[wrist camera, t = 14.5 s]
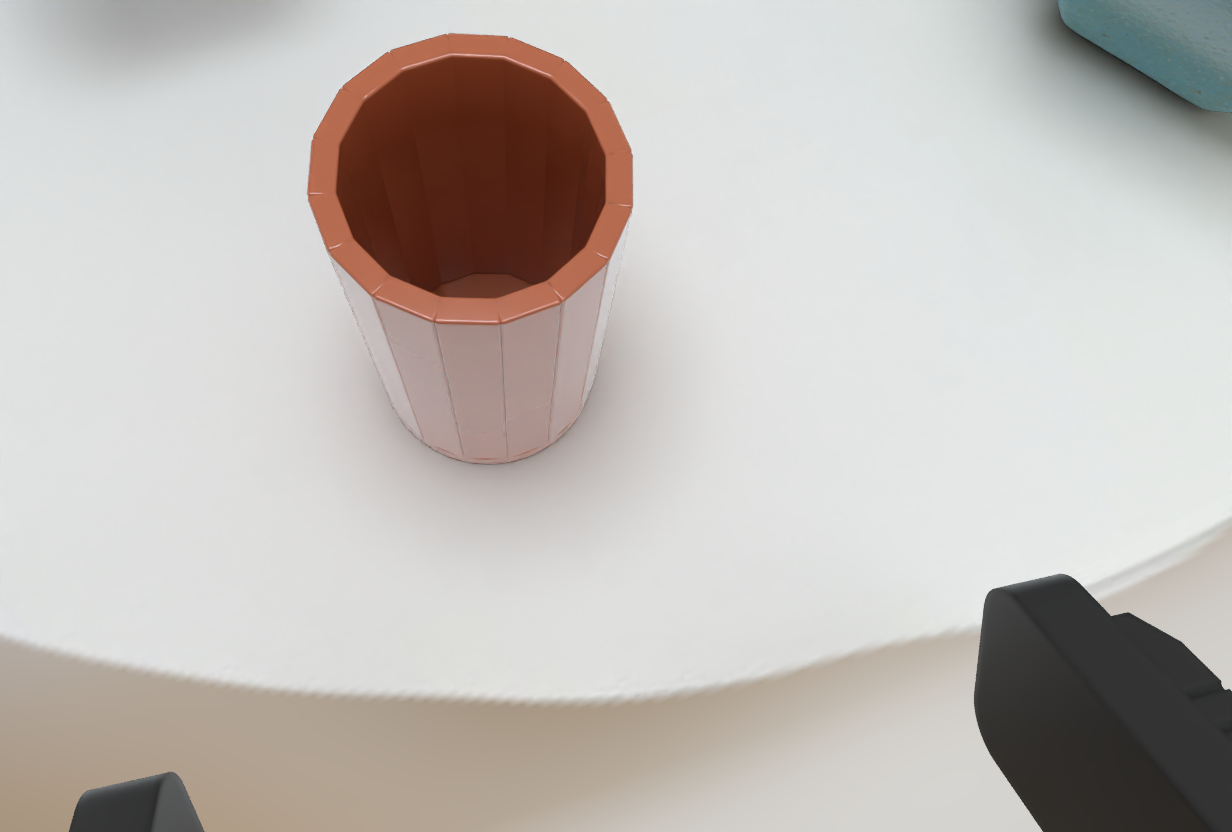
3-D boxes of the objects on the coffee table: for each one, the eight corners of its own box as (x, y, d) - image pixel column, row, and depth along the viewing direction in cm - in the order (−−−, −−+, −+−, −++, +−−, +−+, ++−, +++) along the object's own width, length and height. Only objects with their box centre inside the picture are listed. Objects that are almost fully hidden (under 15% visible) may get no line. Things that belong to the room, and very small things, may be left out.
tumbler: (426, 496, 25) (371, 370, 16) (355, 306, 26) (264, 85, 17) (625, 420, 26) (683, 260, 17) (548, 240, 27) (562, -4, 18)
